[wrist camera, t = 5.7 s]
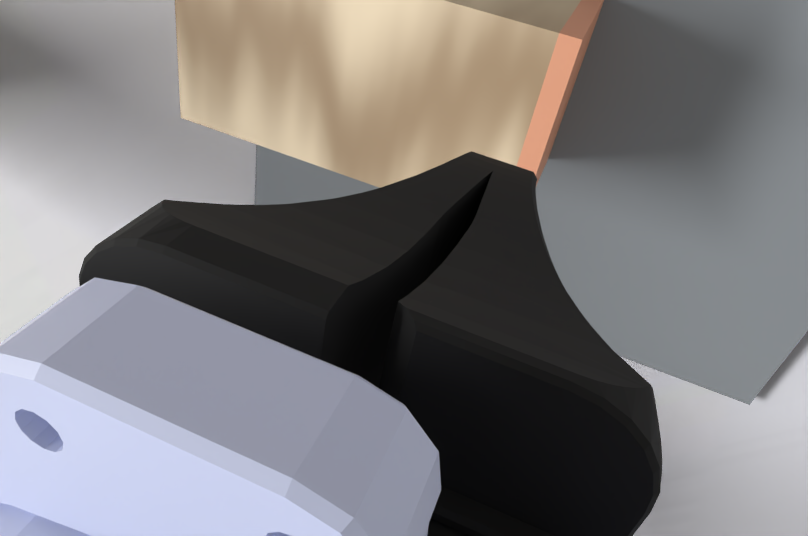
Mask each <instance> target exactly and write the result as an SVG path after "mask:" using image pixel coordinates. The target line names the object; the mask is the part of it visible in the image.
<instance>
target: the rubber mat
mask: <svg viewBox="0 0 808 536" xmlns="http://www.w3.org/2000/svg"><path fill="white" fill-rule="evenodd" d="M377 188H379V187H377V186H374V185H371V184H368V183H365V182H362V181H359V180H357V179H354V178H351V177H348V176H345V175H342V174H339V173H337V172H334V171H331V170H328V169H325V168H322V167H320V166H317V165H314V164H311V163H308V162H305V161H302V160H300V159H297V158H294V157H291V156H288V155H285V154H282V153H280V152H277V151H274V150H271V149H268V148H265V147H263V146H260V145H257V148H256V181H255V205H273V204H292V203H300V202H309V201H317V200H326V199H333V198H339V197H344V196H349V195H353V194H358V193H362V192H366V191H370V190H374V189H377ZM536 202H537V210H538V215H539V220H540V224H541V229H542V233H543V236H544V240H545V243H546V246H547V249H548V252H549V255H550V257H551V260H552V263H553V265H554V267H555V270H556V272H557V274H558V276H559V278H560V280H561V282H562V284H563V286H564V288H565V289H566V291H567V293H568V294H569V296H570V297H571V299H572V300H573V302H574V303H575V305H576V306H577V308H578V309H579V311H580V312H581V313H582V315H583V316H584V317H585V318H586V320H587V321H588V322H589V324H590V325H591V326H592V327H593V328H594V330H595V331H596V332H597V333H598V334H599V335H600V336H601V338H602V339H603V340H604V341H605V342H606V343H607V344H608V345H609V347H610V348H611V349H612V350H613V351H614V352H615V353H616V354H617V355H619V356H621V357H624V358H627V359H629V360H632V361H635V362H637V363H640V364H643V365H645V366H648V367H650V368H653V369H656V370H658V371H661V372H664V373H666V374H669V375H672V376H674V377H677V378H680V379H682V380H685V381H688V382H690V383H693V384H696V385H698V386H701V387H704V388H706V389H709V390H712V391H714V392H717V393H720V394H722V395H725V396H728V397H730V398H733V399H736V400H738V401H741V402H744V403H746V404H749V405H750V403H751V402H752V401H753V400H754V398H755V397H756V396H757V395H758V393H759V392H760V391H761V390H762V388H763V387H764V386H765V384H766V383H767V382H768V381H769V379H770V378H771V377H772V376H773V374H774V373H775V372H776V371H777V369H778V368H779V367H780V366H781V364H782V363H783V362H784V361H785V359H786V358H787V357H788V355H789V354H790V353H791V352H792V350H793V349H794V348H795V347H796V345H797V344H798V343H799V342H800V340H801V339H802V338H803V337H804V335H805V334H806V333H807V331H808V0H604V2H603V5H602V8H601V10H600V13H599V16H598V19H597V22H596V25H595V27H594V30H593V33H592V36H591V39H590V42H589V44H588V47H587V50H586V53H585V56H584V59H583V61H582V64H581V67H580V70H579V73H578V76H577V78H576V81H575V84H574V87H573V90H572V93H571V95H570V98H569V101H568V104H567V107H566V110H565V112H564V115H563V118H562V121H561V124H560V127H559V129H558V132H557V135H556V138H555V141H554V144H553V146H552V149H551V152H550V155H549V158H548V160H547V163H546V165H545V167H544V169H543V172H542V174H541V176H540V179H539V181H538V183H537V186H536Z"/></svg>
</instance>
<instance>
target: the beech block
mask: <svg viewBox="0 0 808 536" xmlns="http://www.w3.org/2000/svg"><path fill="white" fill-rule="evenodd" d="M603 2H604V0H175V14H176V33H177V53H178V72H179V91H180V111H181V118H183V119H186V120H188V121H191V122H194V123H197V124H200V125H203V126H206V127H208V128H211V129H214V130H217V131H220V132H223V133H226V134H228V135H231V136H234V137H237V138H240V139H243V140H245V141H248V142H251V143H254V144H257V145H260V146H263V147H265V148H268V149H271V150H274V151H277V152H280V153H282V154H285V155H288V156H291V157H294V158H297V159H300V160H302V161H305V162H308V163H311V164H314V165H317V166H320V167H322V168H325V169H328V170H331V171H334V172H337V173H339V174H342V175H345V176H348V177H351V178H354V179H357V180H359V181H362V182H365V183H368V184H371V185H374V186H377V187H379V188H381V187H384V186H387V185H390V184H393V183H395V182H398V181H401V180H404V179H407V178H410V177H413V176H416V175H418V174H420V173H423V172H425V171H428V170H430V169H432V168H435V167H437V166H439V165H442V164H444V163H446V162H448V161H450V160H453V159H455V158H457V157H459V156H461V155H463V154H466V153H468V152H471V151H472V152H475V153H478V154H481V155H484V156H487V157H490V158H493V159H496V160H499V161H502V162H505V163H508V164H512V165H515V166H518V167H521V168H524V169H527V170H530V171H533V172H534V174H535V176H536V178H537V182H536V186H537V183H538V181H539V179H540V176H541V174H542V172H543V169H544V167H545V165H546V163H547V160H548V158H549V155H550V152H551V149H552V146H553V144H554V141H555V138H556V135H557V132H558V129H559V127H560V124H561V121H562V118H563V115H564V112H565V110H566V107H567V104H568V101H569V98H570V95H571V93H572V90H573V87H574V84H575V81H576V78H577V76H578V73H579V70H580V67H581V64H582V61H583V59H584V56H585V53H586V50H587V47H588V44H589V42H590V39H591V36H592V33H593V30H594V27H595V25H596V22H597V19H598V16H599V13H600V10H601V8H602V5H603Z"/></svg>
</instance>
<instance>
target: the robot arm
mask: <svg viewBox="0 0 808 536" xmlns="http://www.w3.org/2000/svg"><path fill="white" fill-rule="evenodd" d="M536 182H537V178H536V176H535V174H534V172H533V171H530V170H527V169H524V168H521V167H518V166H515V165H512V164H508V163H505V162H502V161H499V160H496V159H493V158H490V157H487V156H484V155H481V154H478V153H475V152H472V151H471V152H468V153H466V154H463V155H461V156H459V157H457V158H455V159H453V160H450V161H448V162H446V163H444V164H442V165H439V166H437V167H435V168H432V169H430V170H428V171H425V172H423V173H420V174H418V175H416V176H413V177H410V178H407V179H404V180H401V181H398V182H395V183H393V184H390V185H387V186H384V187H381V188H377V189H374V190H370V191H366V192H362V193H358V194H353V195H349V196H344V197H339V198H333V199H326V200H317V201H309V202H300V203H292V204H273V205H223V204H210V203H196V202H182V201H172V200H163V201H161V202H160V203H158V204H157V205H155V206H154V207H152V208H151V209H149V210H148V211H146V212H145V213H143V214H142V215H140V216H139V217H137V218H136V219H134V220H133V221H131V222H130V223H128V224H127V225H126V226H124V227H123V228H121V229H120V230H118V231H117V232H115V233H114V234H112V235H111V236H109V237H108V238H106V239H105V240H103V241H102V242H100V243H99V244H98V245H96V246H95V247H94V248H93V249H92V251H91V252H90V253H89V254H88V255H87V256H86V257H85V258H84V261H83V264H82V268H81V271H80V274H79V282H80V287H78V288H76V289H75V290H73V291H71V292H70V293H68V294H67V295H65V296H64V297H63V298H61V299H60V300H58V301H57V302H56V303H54V304H53V305H52V306H50V307H49V308H47V309H46V310H45V311H43V312H42V313H41V314H39V315H38V316H36V317H35V318H34V319H32V320H31V321H29V322H28V323H27V324H25V325H24V326H23V327H21V328H20V329H18V330H17V331H16V332H14V333H13V334H12V335H10V336H9V337H7V338H6V339H5V340H3V341H2V342H1V343H0V536H633V534H634V533H635V532H636V530H637V529H638V528H639V526H640V525H641V524H642V523H643V521H644V520H645V519H646V517H647V516H648V515H649V513H650V512H651V510H652V508H653V506H654V504H655V502H656V500H657V498H658V496H659V494H660V483H661V476H662V449H661V438H660V430H659V423H658V417H657V410H656V404H655V398H654V393H653V388H652V386H651V385H650V384H649V383H648V382H647V381H646V380H645V379H644V378H642V377H641V376H640V375H639V374H638V373H637V372H636V371H635V370H634V369H633V368H632V367H631V366H629V365H628V364H627V363H626V362H625V361H624V360H623V359H622V358H621V357H620V356H619V355H617V354H616V353H615V352H614V351H613V350H612V349H611V348H610V347H609V345H608V344H607V343H606V342H605V341H604V340H603V339H602V338H601V336H600V335H599V334H598V333H597V332H596V331H595V330H594V328H593V327H592V326H591V325H590V324H589V322H588V321H587V320H586V318H585V317H584V316H583V315H582V313H581V312H580V311H579V309H578V308H577V306H576V305H575V303H574V302H573V300H572V299H571V297H570V296H569V294H568V293H567V291H566V289H565V288H564V286H563V284H562V282H561V280H560V278H559V276H558V274H557V272H556V270H555V267H554V265H553V263H552V260H551V257H550V255H549V252H548V249H547V246H546V243H545V240H544V236H543V233H542V229H541V224H540V220H539V215H538V210H537V202H536Z"/></svg>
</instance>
